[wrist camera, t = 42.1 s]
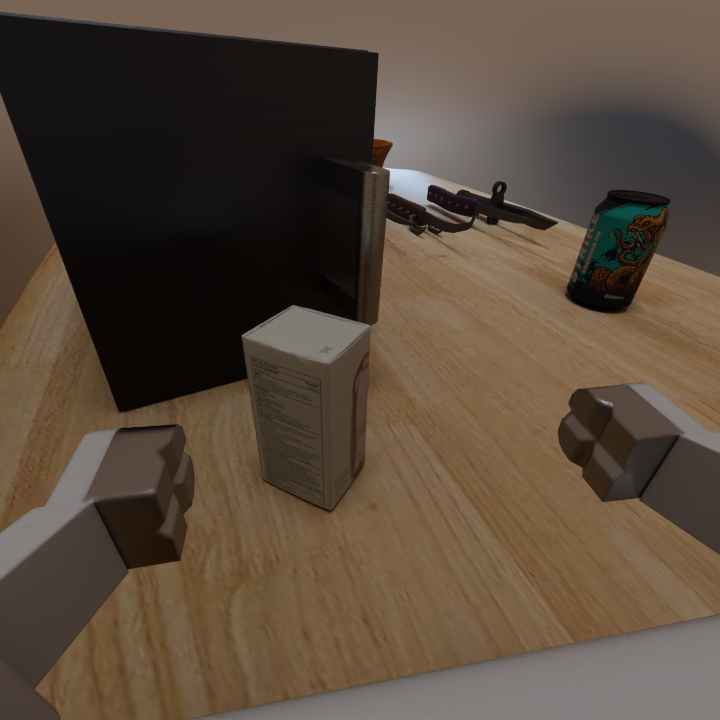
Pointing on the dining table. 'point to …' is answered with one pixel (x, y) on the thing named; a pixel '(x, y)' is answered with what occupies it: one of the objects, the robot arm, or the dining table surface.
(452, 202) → the knife set
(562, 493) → the dining table surface
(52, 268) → the dining table surface
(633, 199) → the beverage can
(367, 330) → the white carton box
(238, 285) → the cupboard door
